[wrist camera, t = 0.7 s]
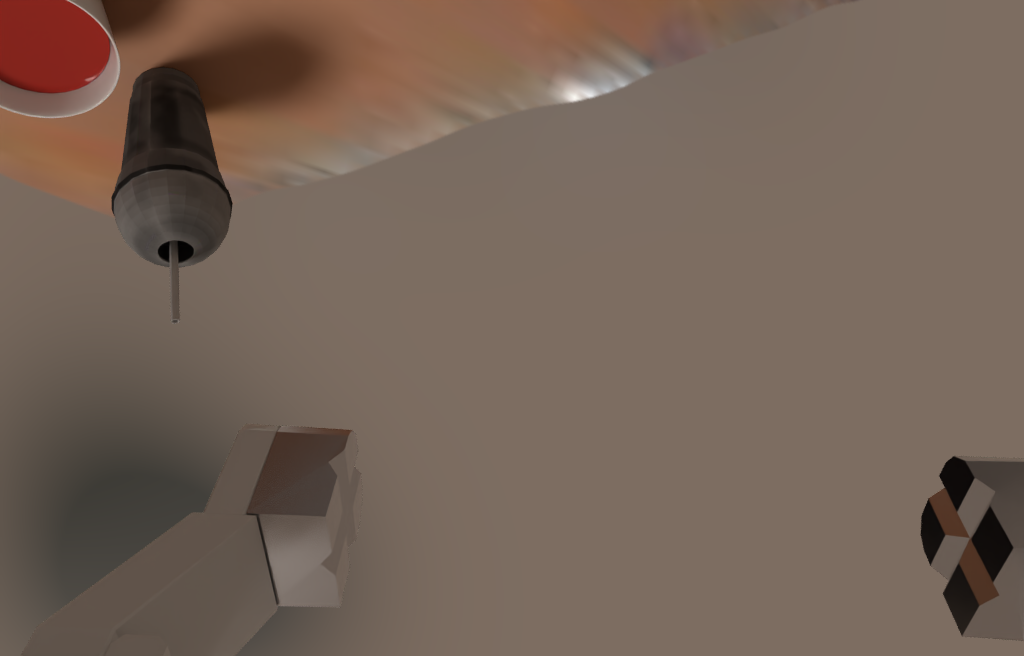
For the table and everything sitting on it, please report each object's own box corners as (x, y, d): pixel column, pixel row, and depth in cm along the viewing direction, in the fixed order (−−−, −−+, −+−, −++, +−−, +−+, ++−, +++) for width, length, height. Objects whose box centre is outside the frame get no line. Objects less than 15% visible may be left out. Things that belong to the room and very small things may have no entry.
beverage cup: (231, 66, 60) (258, 277, 49) (207, 142, 65) (227, 350, 54) (120, 38, 56) (122, 260, 45) (103, 121, 61) (101, 341, 50)
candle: (82, 78, 58) (80, 139, 55) (-69, 11, 52) (-81, 75, 48) (145, -20, 54) (147, 39, 50) (-11, -106, 48) (-21, -45, 44)
